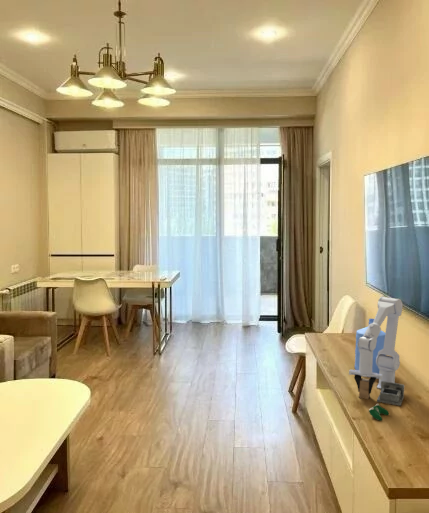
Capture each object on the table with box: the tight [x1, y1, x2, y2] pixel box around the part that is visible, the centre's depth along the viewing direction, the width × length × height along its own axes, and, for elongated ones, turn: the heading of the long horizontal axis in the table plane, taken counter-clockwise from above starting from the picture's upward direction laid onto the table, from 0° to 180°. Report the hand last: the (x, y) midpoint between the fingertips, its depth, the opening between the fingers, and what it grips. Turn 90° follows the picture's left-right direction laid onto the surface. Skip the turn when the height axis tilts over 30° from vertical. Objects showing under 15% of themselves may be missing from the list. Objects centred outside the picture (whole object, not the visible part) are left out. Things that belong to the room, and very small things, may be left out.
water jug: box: [354, 318, 386, 374], centre depth 269 cm, size 16×16×28 cm
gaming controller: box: [368, 403, 390, 422], centre depth 210 cm, size 9×4×6 cm
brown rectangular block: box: [358, 377, 371, 400], centre depth 231 cm, size 4×4×8 cm
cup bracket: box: [376, 381, 405, 407], centre depth 229 cm, size 12×10×6 cm
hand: (364, 392), depth 231 cm, fingers closed on brown rectangular block, 4 cm apart
